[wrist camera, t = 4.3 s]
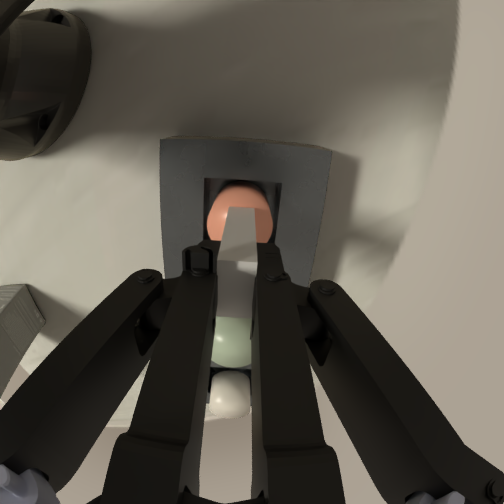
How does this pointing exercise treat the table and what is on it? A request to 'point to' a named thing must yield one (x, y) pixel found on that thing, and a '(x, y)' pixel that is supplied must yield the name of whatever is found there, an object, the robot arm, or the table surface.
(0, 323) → the skincare box
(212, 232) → the coral button
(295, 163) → the panel
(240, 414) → the white glossy ball
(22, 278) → the table surface
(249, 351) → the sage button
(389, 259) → the table surface
